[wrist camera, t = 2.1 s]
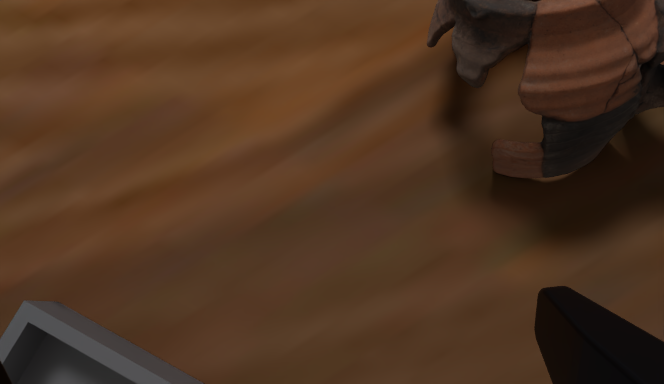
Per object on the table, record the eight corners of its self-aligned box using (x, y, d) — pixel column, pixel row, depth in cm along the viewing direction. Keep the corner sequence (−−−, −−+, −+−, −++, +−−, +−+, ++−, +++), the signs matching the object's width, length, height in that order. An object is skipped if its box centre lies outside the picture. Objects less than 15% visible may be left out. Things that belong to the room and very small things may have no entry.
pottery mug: (426, 190, 24) (410, 33, 18) (444, 66, 30) (437, -83, 24) (733, 201, 21) (837, 12, 15) (686, 58, 27) (747, -119, 21)
